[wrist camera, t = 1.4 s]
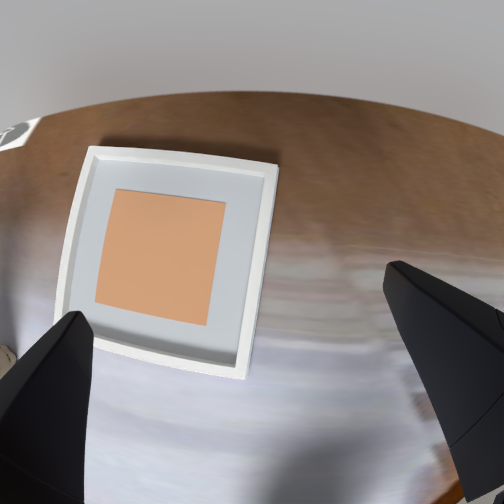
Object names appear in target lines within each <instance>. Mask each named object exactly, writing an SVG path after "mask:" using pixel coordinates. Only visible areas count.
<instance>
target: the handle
mask: <svg viewBox="0 0 504 504" xmlns="http://www.w3.org/2000/svg"><path fill="white" fill-rule="evenodd" d="M15 363H16V356H15V354H14V353H12V352H11V351H10V350H9V349H8V347H7V346H5V345H0V379H1V378H2V377H3V376H4V375H5V374H6V373H7V372H8V371H9V369H10V368H11V367H12V366H13V365H14V364H15Z"/></svg>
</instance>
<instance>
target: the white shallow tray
mask: <svg viewBox="0 0 504 504" xmlns="http://www.w3.org/2000/svg"><path fill="white" fill-rule="evenodd" d="M278 174H279V168H278V165H276V164H270V163H264V162H258V161H251V160H244V159H237V158H230V157H222V156H215V155H206V154H197V153H188V152H178V151H167V150H156V149H142V148H126V147H105V146H89V148H88V151H87V154H86V158H85V161H84V164H83V167H82V171H81V174H80V177H79V181H78V185H77V188H76V192H75V196H74V200H73V204H72V208H71V212H70V216H69V221H68V226H67V230H66V235H65V240H64V246H63V251H62V257H61V263H60V270H59V277H58V284H57V293H56V302H55V312H54V325H55V324H56V323H57V322H58V321H59V320H60V319H61V318H62V317H63V316H64V315H65V314H66V313H68V312H69V311H77V310H79V311H81V312H82V313H83V314H84V316H85V318H86V319H87V321H88V323H89V325H90V326H91V328H92V330H93V333H94V343H93V347H96V348H99V349H102V350H106V351H109V352H113V353H116V354H120V355H124V356H127V357H131V358H135V359H139V360H143V361H147V362H151V363H155V364H160V365H164V366H169V367H173V368H178V369H183V370H188V371H193V372H198V373H204V374H209V375H215V376H221V377H227V378H234V379H241V380H245V379H247V376H248V370H249V364H250V358H251V352H252V346H253V339H254V333H255V327H256V321H257V314H258V308H259V302H260V295H261V289H262V282H263V276H264V269H265V263H266V256H267V249H268V243H269V236H270V229H271V222H272V215H273V209H274V202H275V195H276V188H277V181H278ZM54 325H53V326H54Z"/></svg>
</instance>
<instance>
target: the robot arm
mask: <svg viewBox="0 0 504 504" xmlns="http://www.w3.org/2000/svg"><path fill="white" fill-rule="evenodd" d="M383 291H384V294H385V297H386V299H387V302H388V304H389V307H390V309H391V312H392V315H393V317H394V320H395V323H396V325H397V328H398V330H399V333H400V335H401V337H402V340H403V342H404V344H405V346H406V348H407V350H408V352H409V354H410V356H411V358H412V360H413V363H414V365H415V367H416V369H417V371H418V373H419V376H420V378H421V380H422V382H423V385H424V387H425V389H426V392H427V394H428V396H429V399H430V401H431V403H432V406H433V408H434V411H435V413H436V415H437V418H438V420H439V423H440V425H441V428H442V431H443V433H444V436H445V439H446V441H447V444H448V447H449V448H450V449H449V450H450V453H451V456H452V458H453V461H454V464H455V467H456V470H457V473H458V476H459V479H460V483H461V486H462V489H463V492H464V496H465V499H466V501H467V503H468V502H470V501H473V500H475V499H477V498H479V497H481V496H483V495H485V494H487V493H489V492H491V491H493V490H495V489H496V488H499V487H500V486H502V485H504V313H503V312H501V311H500V310H498V309H495V308H494V307H492V306H490V305H488V304H487V303H485V302H483V301H481V300H479V299H477V298H475V297H473V296H471V295H469V294H468V293H466V292H464V291H462V290H460V289H458V288H456V287H454V286H452V285H450V284H448V283H446V282H444V281H442V280H440V279H438V278H436V277H434V276H432V275H430V274H428V273H426V272H424V271H422V270H420V269H418V268H415V267H413V266H411V265H409V264H407V263H405V262H403V261H400V260H399V261H394V262H389V263H388V264H387V266H386V271H385V277H384V282H383ZM93 343H94V333H93V330H92V328H91V326H90V325H89V323H88V321H87V319H86V318H85V316H84V314H83V313H82V312H81V311H79V310H77V311H69V312H68V313H66V314H65V315H64V316H63V317H62V318H61V319H60V320H59V321H58V322H57V323H56V324H55V325H54V326H53V327H52V328H50V329H49V330H48V331H47V332H46V333H45V334H44V335H43V336H42V337H41V338H40V339H39V340H38V341H37V342H36V343H35V344H34V345H33V346H32V347H31V348H30V349H29V350H28V351H27V352H26V353H25V354H24V355H23V356H22V357H21V358H20V359H19V360H18V361H17V362H16V363H15V364H14V365H13V366H12V367H11V368H10V369H9V371H8V372H7V373H6V374H5V375H4V376H3V377H2V378H1V379H0V504H84V461H85V440H86V427H87V415H88V406H89V397H90V389H91V379H92V359H93ZM493 504H504V490H503V491H501V492H500V493H499V494H497V495H496V498H495V500H494V503H493Z"/></svg>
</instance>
